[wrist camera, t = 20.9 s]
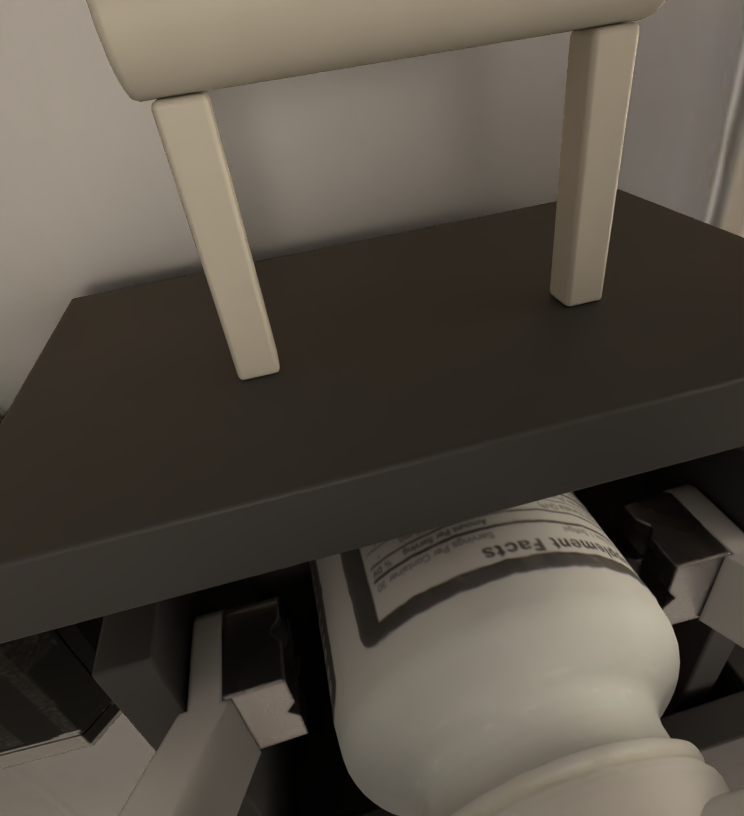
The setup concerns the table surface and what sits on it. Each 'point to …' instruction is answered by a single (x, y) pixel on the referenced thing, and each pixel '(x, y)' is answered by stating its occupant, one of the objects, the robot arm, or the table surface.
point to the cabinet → (707, 725)
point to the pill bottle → (505, 672)
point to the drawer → (358, 370)
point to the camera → (51, 694)
